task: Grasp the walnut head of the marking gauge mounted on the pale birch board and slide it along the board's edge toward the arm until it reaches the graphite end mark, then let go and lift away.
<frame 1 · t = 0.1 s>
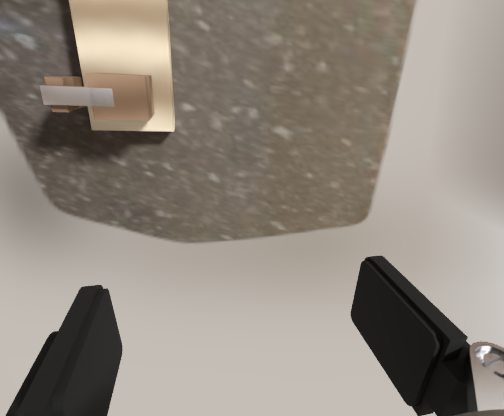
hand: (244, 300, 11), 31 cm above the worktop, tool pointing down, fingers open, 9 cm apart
birch board: (125, 12, 31), on the worktop
marking gauge: (104, 94, 30), point 5 cm above the worktop, slide at 0.0 cm
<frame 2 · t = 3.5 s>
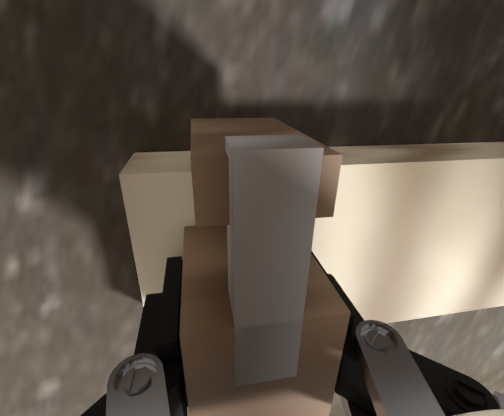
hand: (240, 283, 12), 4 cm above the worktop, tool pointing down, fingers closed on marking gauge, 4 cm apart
birch board: (369, 224, 16), on the worktop
marking gauge: (246, 264, 9), point 5 cm above the worktop, slide at 0.0 cm, touching gripper
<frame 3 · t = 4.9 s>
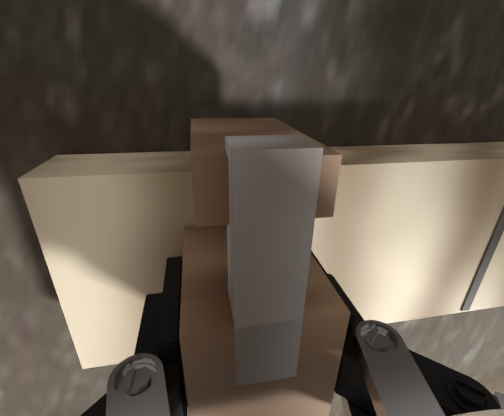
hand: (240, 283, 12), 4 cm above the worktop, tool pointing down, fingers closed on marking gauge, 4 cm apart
birch board: (319, 228, 16), on the worktop
marking gauge: (246, 264, 9), point 5 cm above the worktop, slide at 3.0 cm, touching gripper
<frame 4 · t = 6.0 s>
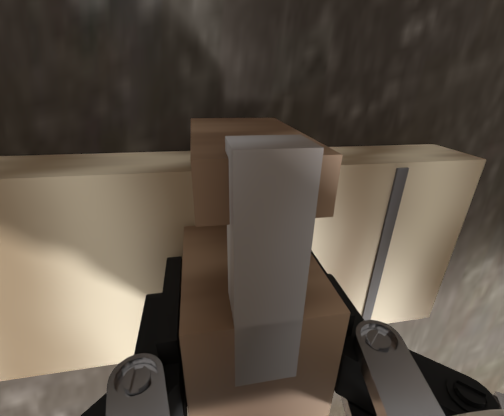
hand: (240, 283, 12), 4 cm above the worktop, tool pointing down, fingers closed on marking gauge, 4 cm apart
birch board: (204, 237, 15), on the worktop
marking gauge: (246, 264, 9), point 5 cm above the worktop, slide at 9.2 cm, touching gripper
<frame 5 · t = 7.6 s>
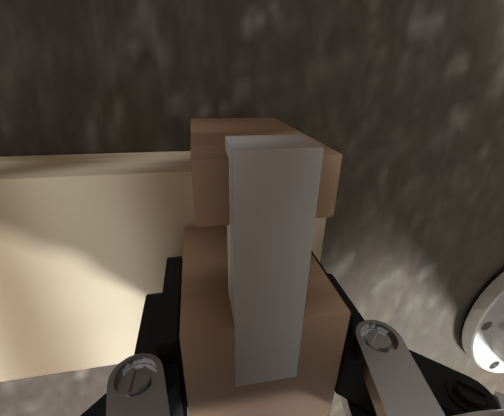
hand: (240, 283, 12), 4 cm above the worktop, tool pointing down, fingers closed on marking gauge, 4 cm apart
birch board: (53, 250, 14), on the worktop
marking gauge: (246, 264, 9), point 5 cm above the worktop, slide at 16.2 cm, touching gripper
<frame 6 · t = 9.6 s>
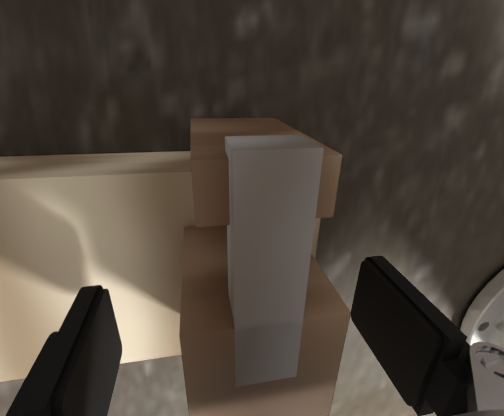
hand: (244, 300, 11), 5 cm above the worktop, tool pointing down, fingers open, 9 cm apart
birch board: (47, 250, 14), on the worktop
marking gauge: (246, 264, 9), point 5 cm above the worktop, slide at 16.5 cm
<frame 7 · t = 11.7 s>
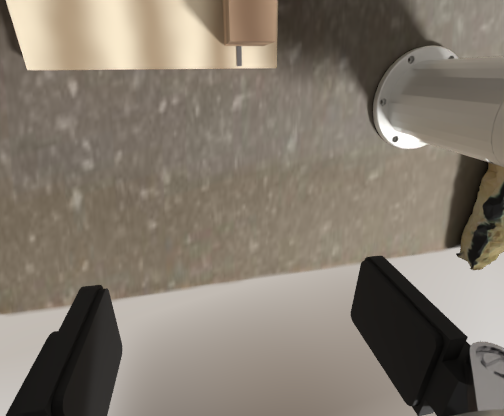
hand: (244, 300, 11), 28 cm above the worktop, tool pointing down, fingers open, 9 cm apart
mineral: (486, 187, 48), on the worktop
birch board: (156, 20, 30), on the worktop
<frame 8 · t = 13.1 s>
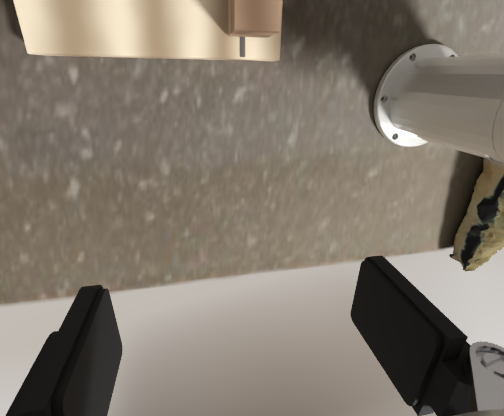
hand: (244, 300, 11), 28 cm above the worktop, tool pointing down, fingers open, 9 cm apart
mineral: (480, 189, 48), on the worktop
birch board: (160, 8, 30), on the worktop
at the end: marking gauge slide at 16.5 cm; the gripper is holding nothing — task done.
